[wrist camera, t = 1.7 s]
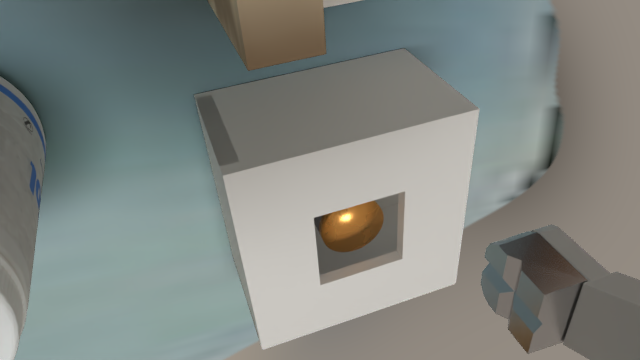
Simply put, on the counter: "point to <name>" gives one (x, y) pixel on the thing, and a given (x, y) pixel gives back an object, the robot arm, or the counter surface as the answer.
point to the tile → (336, 2)
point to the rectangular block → (273, 29)
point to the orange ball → (350, 226)
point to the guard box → (340, 186)
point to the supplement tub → (17, 209)
